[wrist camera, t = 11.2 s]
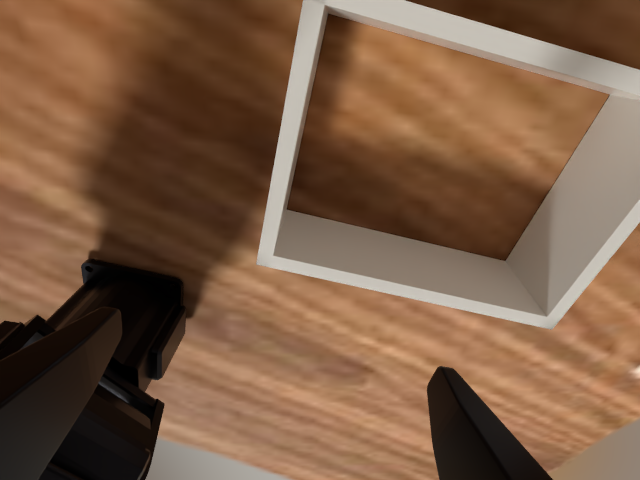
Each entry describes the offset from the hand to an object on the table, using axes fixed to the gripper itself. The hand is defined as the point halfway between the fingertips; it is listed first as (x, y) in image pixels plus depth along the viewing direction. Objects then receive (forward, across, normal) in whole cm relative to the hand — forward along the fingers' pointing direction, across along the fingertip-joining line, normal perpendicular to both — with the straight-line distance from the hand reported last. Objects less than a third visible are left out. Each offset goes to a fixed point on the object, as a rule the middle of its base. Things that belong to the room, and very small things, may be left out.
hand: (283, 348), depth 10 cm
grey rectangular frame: (+12, -6, -4) cm, 13 cm away
